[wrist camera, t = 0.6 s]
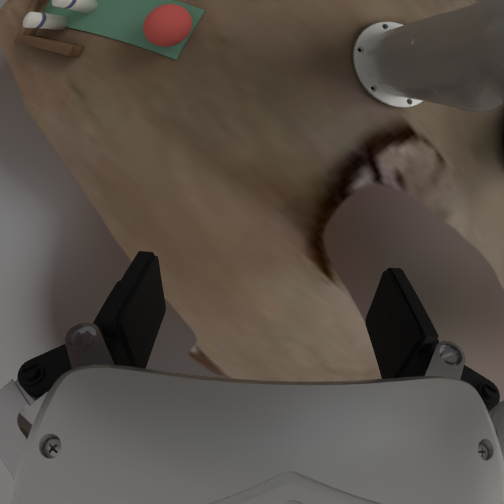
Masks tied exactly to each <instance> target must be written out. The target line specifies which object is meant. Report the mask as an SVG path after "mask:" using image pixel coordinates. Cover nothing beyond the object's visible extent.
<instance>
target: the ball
mask: <svg viewBox="0 0 504 504" xmlns="http://www.w3.org/2000/svg"><path fill="white" fill-rule="evenodd" d="M191 27H192V18H191V15H190V14H189V12H188V11H187V10H186V9H185V8H183V7H182V6H179V5H176V4H165V5H161V6H159V7H157V8H155V9H154V10H152V11H151V12H150V13H149V14H148V15H147V17H146V19H145V21H144V24H143V31H144V34H145V37H146V38H147V39H148V40H149V41H150V42H151V43H153V44H155V45H157V46H162V47H167V46H173V45H176V44H178V43H180V42H181V41H183V40H184V39H185V38H186V37H187V36H188V34H189V32H190V30H191Z"/></svg>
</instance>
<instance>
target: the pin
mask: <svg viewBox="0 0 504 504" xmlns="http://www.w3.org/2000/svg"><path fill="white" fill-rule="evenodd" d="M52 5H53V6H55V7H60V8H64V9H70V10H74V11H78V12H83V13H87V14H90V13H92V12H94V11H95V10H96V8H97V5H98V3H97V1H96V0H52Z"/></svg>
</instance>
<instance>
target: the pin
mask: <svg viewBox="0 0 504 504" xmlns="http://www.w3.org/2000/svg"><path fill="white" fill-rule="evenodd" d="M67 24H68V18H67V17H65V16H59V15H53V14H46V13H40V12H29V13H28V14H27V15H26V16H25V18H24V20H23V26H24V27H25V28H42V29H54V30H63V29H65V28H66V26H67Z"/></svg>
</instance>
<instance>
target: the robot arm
mask: <svg viewBox="0 0 504 504" xmlns="http://www.w3.org/2000/svg"><path fill="white" fill-rule="evenodd" d="M382 26H384V28H383V27H382ZM358 49H360V52H359V51H358ZM352 56H353V65H354V69H355V72H356V75H357V77H358V79H359V81H360V82H361V84H362V85H363V87H364V88H365V89H366V90H367V91H368V92H369V94H371V95H372V96H373V97H374V98H376V99H377V100H379V101H381V102H382V103H384V104H387V105H390V106H394V107H402V108H407V107H413V106H415V105H418V104H420V103H421V102H423V101H427V102H432V103H436V104H441V105H445V106H449V107H454V108H458V109H462V110H466V111H470V112H478V113H479V112H487V111H491V110H493V109H495V108H497V107H499V106H500V105H501V104H502V103H503V105H504V0H482V1H480V2H478V3H475V4H472V5H470V6H467V7H464V8H461V9H457V10H454V11H450V12H447V13H443V14H439V15H436V16H433V17H429V18H425V19H422V20H419V21H415V22H412V23H409V24H406V25H403V24H400V23H396V22H389V21H384V22H378V23H375V24H372V25H370V26H369V27H367V28H365V29H364V30H363V31H362V32H361V33H360V34H359V36H358V37H357V39H356V41H355V44H354V47H353V54H352ZM371 87H373V90H371ZM407 100H408V102H407ZM165 310H166V306H165V299H164V293H163V287H162V281H161V274H160V267H159V260H158V257H157V256H154V253H153V252H144V251H139V252H138V254H137V255H136V257H135V258H134V260H133V262H132V263H131V265H130V266H129V268H128V269H127V271H126V273H125V274H124V276H123V278H122V279H121V281H118V282H117V283H116V285H115V286H114V288H113V290H112V291H111V293H110V295H109V296H108V298H107V300H106V301H105V303H104V305H103V307H102V308H101V310H100V312H99V314H98V315H97V317H96V319H95V321H94V322H93V323H89V322H83V323H79V324H76V325H74V326H73V327H72V328H70V329H69V330H68V332H67V333H66V336H65V344H64V345H62V346H60V347H57V348H55V349H53V350H51V351H48V352H46V353H44V354H42V355H40V356H37V357H35V358H33V359H31V360H29V361H27V362H25V363H24V364H23V365H22V366H21V368H20V369H19V372H18V379H17V380H16V381H15V382H14V380H11V381H10V382H8V383H7V384H6V385H5V386H4V387H2V388H1V389H0V457H1V459H2V461H3V463H4V464H5V466H6V467H7V469H8V470H9V472H10V474H11V475H12V477H13V478H14V480H15V482H14V486H13V490H12V495H11V500H10V504H504V401H502V402H499V399H500V395H499V391H498V389H497V387H496V386H495V384H494V383H492V382H491V381H490V380H487V379H486V378H485V377H483V376H482V375H480V374H478V373H477V372H475V371H473V370H472V369H470V368H468V367H467V366H465V365H464V363H465V356H464V353H463V351H462V350H461V348H460V347H459V346H458V345H456V344H455V343H453V342H450V341H442V342H440V343H439V341H438V339H437V338H438V334H437V332H436V330H435V328H434V326H433V324H432V322H431V320H430V318H429V317H428V315H427V313H426V311H425V309H424V307H423V305H422V303H421V302H420V300H419V298H418V296H417V295H416V293H415V291H414V289H413V287H412V286H411V284H410V282H409V280H408V279H407V277H406V275H405V274H404V272H403V270H402V269H400V268H388V269H387V271H384V272H383V274H382V277H381V280H380V282H379V285H378V288H377V291H376V293H375V296H374V299H373V301H372V304H371V307H370V309H369V312H368V314H367V317H366V327H367V330H368V333H369V337H370V340H371V343H372V346H373V349H374V353H375V356H376V359H377V363H378V366H379V370H380V373H381V377H382V379H376V380H359V381H331V382H288V381H260V380H243V379H229V378H218V377H207V376H197V375H190V374H182V373H174V372H166V371H158V370H152V369H146V365H147V362H148V359H149V356H150V354H151V351H152V348H153V345H154V342H155V339H156V337H157V334H158V331H159V328H160V325H161V323H162V320H163V317H164V314H165Z"/></svg>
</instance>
